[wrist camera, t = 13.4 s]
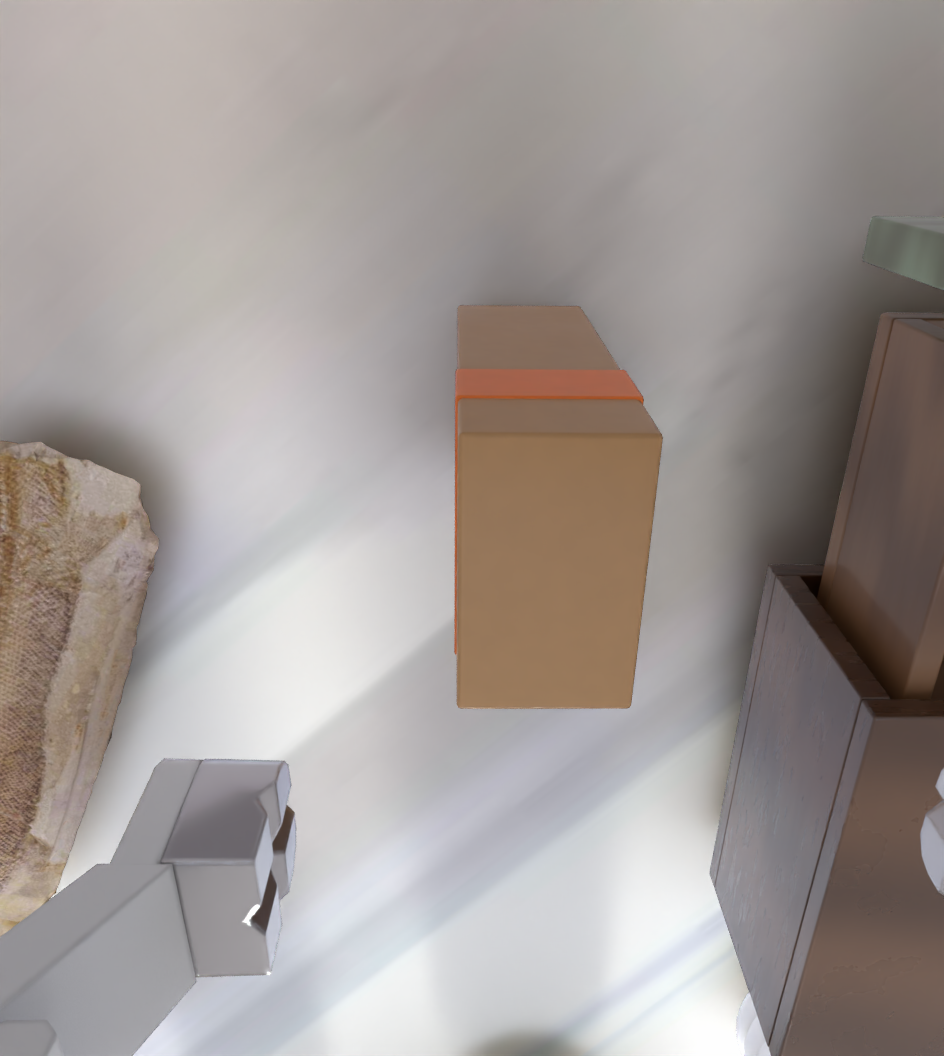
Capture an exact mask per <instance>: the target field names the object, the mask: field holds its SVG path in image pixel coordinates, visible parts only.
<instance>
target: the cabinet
mask: <svg viewBox="0 0 944 1056" xmlns="http://www.w3.org/2000/svg"><path fill="white" fill-rule="evenodd" d="M823 569H824V565H800V564H769V565H768V569H767V574H766V579H765V584H764V590H763V595H762V600H761V605H760V611H759V616H758V621H757V626H756V632H755V637H754V642H753V647H752V653H751V658H750V663H749V668H748V674H747V679H746V684H745V689H744V695H743V700H742V705H741V710H740V716H739V721H738V726H737V732H736V737H735V742H734V747H733V753H732V758H731V763H730V768H729V774H728V779H727V784H726V789H725V795H724V800H723V805H722V810H721V816H720V821H719V826H718V831H717V837H716V842H715V847H714V852H713V858H712V863H711V868H710V876H711V879H712V882H713V885H714V887H715V891H716V894H717V897H718V900H719V903H720V906H721V909H722V912H723V915H724V918H725V921H726V924H727V927H728V930H729V933H730V936H731V939H732V942H733V945H734V948H735V951H736V954H737V957H738V960H739V963H740V966H741V968H742V971H743V974H744V977H745V980H746V983H747V986H748V989H749V992H750V995H751V998H752V1001H753V1004H754V1007H755V1010H756V1013H757V1016H758V1019H759V1022H760V1025H761V1028H762V1031H763V1034H764V1037H765V1040H766V1043H767V1046H768V1047H769V1051H770V1054H771V1056H944V895H942V894H941V893H939V892H938V890H937V889H936V887H935V885H934V883H933V882H932V880H931V878H930V877H929V875H928V873H927V870H926V867H925V864H924V861H923V858H922V852H921V839H920V832H921V829H922V825H923V822H924V819H925V815H926V813H927V812H928V811H930V810H931V809H932V808H933V807H935V806H936V805H937V804H938V803H940V802H941V801H942V800H943V799H942V797H941V796H940V794H939V792H938V790H937V789H936V787H935V786H936V783H937V780H938V778H939V775H940V772H941V770H942V769H944V699H890V697H889V696H888V694H887V693H886V692H885V690H884V689H883V687H882V686H881V685H880V683H879V682H878V681H877V679H876V678H875V677H874V675H873V674H872V673H871V671H870V670H869V669H868V667H867V666H866V665H865V663H864V662H863V661H862V659H861V658H860V657H859V655H858V654H857V653H856V651H855V650H854V649H853V647H852V646H851V645H850V643H849V642H848V641H847V639H846V638H845V637H844V635H843V634H842V632H841V631H840V630H839V628H838V627H837V626H836V624H835V623H834V622H833V620H832V619H831V618H830V616H829V615H828V614H827V612H826V611H825V610H824V608H823V607H822V606H821V604H820V603H819V602H818V600H817V596H818V592H819V587H820V583H821V578H822V574H823Z"/></svg>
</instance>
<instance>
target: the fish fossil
mask: <svg viewBox="0 0 944 1056" xmlns="http://www.w3.org/2000/svg"><path fill="white" fill-rule="evenodd" d="M140 491H141V485H140V484H139V483H138V482H136V481H135V480H134V479H132V478H129V477H127V476H124V475H121V474H118V473H115V472H113V471H111V470H109V469H107V468H104V467H102V466H99V465H96V464H95V463H93V462H92V461H90V460H88V459H87V460H79V459H74V458H70V457H68V456H66V455H64V454H62V453H60V452H58V451H56V450H54V449H52V448H50V447H48V446H46V445H45V444H43V443H42V442H32V443H23V444H18V443H14V442H8V441H0V937H1V936H2V935H4V934H5V933H6V932H8V931H9V930H10V929H12V928H13V927H14V926H16V925H17V924H18V923H20V922H21V921H22V920H23V919H25V918H26V917H27V916H29V915H30V914H31V913H33V912H34V911H35V910H37V909H38V908H39V907H41V906H42V905H43V904H45V903H46V902H47V901H49V899H50V898H51V897H52V895H53V894H55V893H56V890H57V887H58V885H59V882H60V879H61V876H62V872H63V870H64V868H65V865H66V862H67V859H68V856H69V853H70V851H71V849H72V846H73V843H74V840H75V836H76V833H77V830H78V827H79V825H80V822H81V820H82V817H83V814H84V811H85V809H86V805H87V802H88V800H89V798H90V795H91V792H92V786H93V784H94V782H95V780H96V777H97V774H98V771H99V769H100V767H101V763H102V761H103V756H104V753H105V751H106V748H107V746H108V744H109V741H110V739H111V735H112V727H113V724H114V720H115V716H116V713H117V707H118V705H119V704H120V702H121V697H122V692H123V687H124V684H125V680H126V678H127V675H128V672H129V668H130V664H131V661H132V652H133V647H134V646H135V645H136V639H137V626H138V624H139V620H140V616H141V613H142V609H143V605H144V601H145V598H146V594H147V587H148V584H147V580H148V578H149V577H150V575H151V573H152V572H153V570H154V557H155V553H156V551H157V550H158V548H159V538H158V537H157V536H156V535H155V533H154V532H153V531H152V530H151V528H150V522H149V517H148V515H147V513H146V512H145V511H144V509H143V505H142V502H141V498H140Z"/></svg>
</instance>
